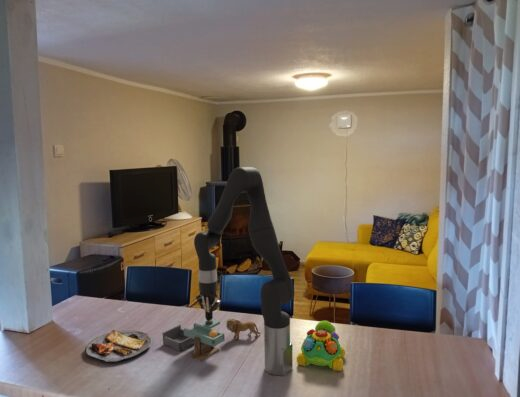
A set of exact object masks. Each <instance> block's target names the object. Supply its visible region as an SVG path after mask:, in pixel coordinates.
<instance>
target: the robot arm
mask: <svg viewBox="0 0 520 397" xmlns="http://www.w3.org/2000/svg"><path fill="white" fill-rule="evenodd" d="M242 193H246V195H247V197H248V201H249V202H248V203H249V205H250V206H249V208H250V210H249V215H248V223H247V229H248V234H249V238H250V242H251V245H252V247H253V248H254V250H255V251H256V253H257V254H258V255H259V256H260V257H261V258H262V259H263V260H264V262H265V263H266V264H267V265H268V267H269V270H270V271H271V276H272V279H271V280H268V281H265V282H264V283H263V284H262V286H261V288H260V302H261V303H260V306H261V315H262V318H263V328H264V329H263V332H264V333H263V334H264V335H263V336H264V337H263V338H264V340H263V341H264V342H263V343H264V345H263V347H264V351H263V352H264V370H265V372H267V373H268V374H269V375H273V376H281V377H284V376H285V375H286V374H288V373H289V372H290V371H292V370H293V368H294V367H293V362H294V360H293V343H291V317H290V316H291V315H289V314H288V313H287V312H285V311H283V310H282V307H281V306H283V305H285V304H287V303H290V302H291V301H292V300H294V298H295V287H294V284H293V281H292V278H291V275H290V273H289V270H288V267H287V265H286V263H285V260H284V257H283V254H282V251H281V249H280V248H281V247H280V244H279V242H278V238H277V233H276V231H275V228H274V223H273V221H272V217H271V214H270V210H269V207H268V204H267V199H266V193H265V188H264V182H263V178H262V175H261V173H260V171H259V170H258V169H257V168H255V167H253V166H252V167H251V166H239V167H236V168H234V169H232V171H231V173H230V174H229V176H228V179H227V181H226V184H225V187H224V189H223V191H222V194H221V197H220V199H219V201H218V204H217V206H216V207H215V209H214V211H213V212H212V214H211V216H210V217H209V219H208V221H207V223H206V228H207V230H204V231H201V232H198V233H197V234H195V236H194V241H193V246H194V248H195V252H196V256H197V259H198V291H199V294H198V295H196V296H195V298H196V300H197V302H198V304H199V307H200V308H201V309H202V310H203V311H204V316H205V321H207V320H208V321H210V320H212V319H214V317H213V314H214V313H213V312H215V311H216V310H218V308H219V307H220V305H221V304H222V300H221V299H218V294H217V291H218V271H217V257H216V255H215V254H214V253H211V252H210V249H211V248H213V247H214V248H215V247H216V246H217V245H218V244H219V243H220V242H221V239H222V235H223V234H224V230H225V228H226V227H227V226H228V224H229V223H230V221H231V218H232V216H233V210H234V203H235V201H236V200H237V199H238V197H239V196H240V195H241V194H242Z"/></svg>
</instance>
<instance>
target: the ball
mask: <svg viewBox="0 0 520 397" xmlns="http://www.w3.org/2000/svg"><path fill="white" fill-rule="evenodd" d="M216 331H217V330H216ZM216 331H211V332H210V333H209V337H211V338H215V337H217V332H216Z"/></svg>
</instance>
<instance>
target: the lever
mask: <svg viewBox="0 0 520 397" xmlns="http://www.w3.org/2000/svg"><path fill="white" fill-rule="evenodd" d="M219 325H221V321H220V320H218V319H217V320H216V319H214V318H212V320H210V321H208V320H205V321H204V322H201V323H196V322H194V323H193V328H191V329H190V328H187V327H183V329H184V335H185V336H187V337H190V338H192V339H194V337H197V338H200V342H202V343H205V344H208V345H210V346H213V347H216V346H218V345H219V344H221V343H223V342H224V341H225V338H226V337H225V333H224V332H221V331H218V330H215V329H213V328H215V327H217V326H219ZM211 331H216V332H217V337H215V338H211V337H209V333H210V332H211Z"/></svg>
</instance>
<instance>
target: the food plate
mask: <svg viewBox="0 0 520 397" xmlns="http://www.w3.org/2000/svg"><path fill="white" fill-rule="evenodd" d="M152 343H153V338H152V337H151V336H150V335H149V334H148V333H146V332H142V331H139V330H130V329H127V330H115V329H113V330H112V329H111V331H110V332H109V333H105V334H103V335H100V336H97V337H95V338H94V339H92V340H91V341H90V342H89V343H88V344H87V345H86V346H85V349H84V350H85V354H86V355H88V356H89V357H91V358H93V359H94V358H95V359H97V360H100V361H101V360H102V361H104V362H106V363H107V362H120V361H122V360H125V359H129V358H133V357H135V356H137V355H139V354H141V353H143V352H144V351H146V350H147V349H148V348H150V347H151V345H152ZM133 351H135V352H133ZM119 355H120V356H122V357H117V358H115V356H119ZM111 356H112V358H108V357H111Z"/></svg>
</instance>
